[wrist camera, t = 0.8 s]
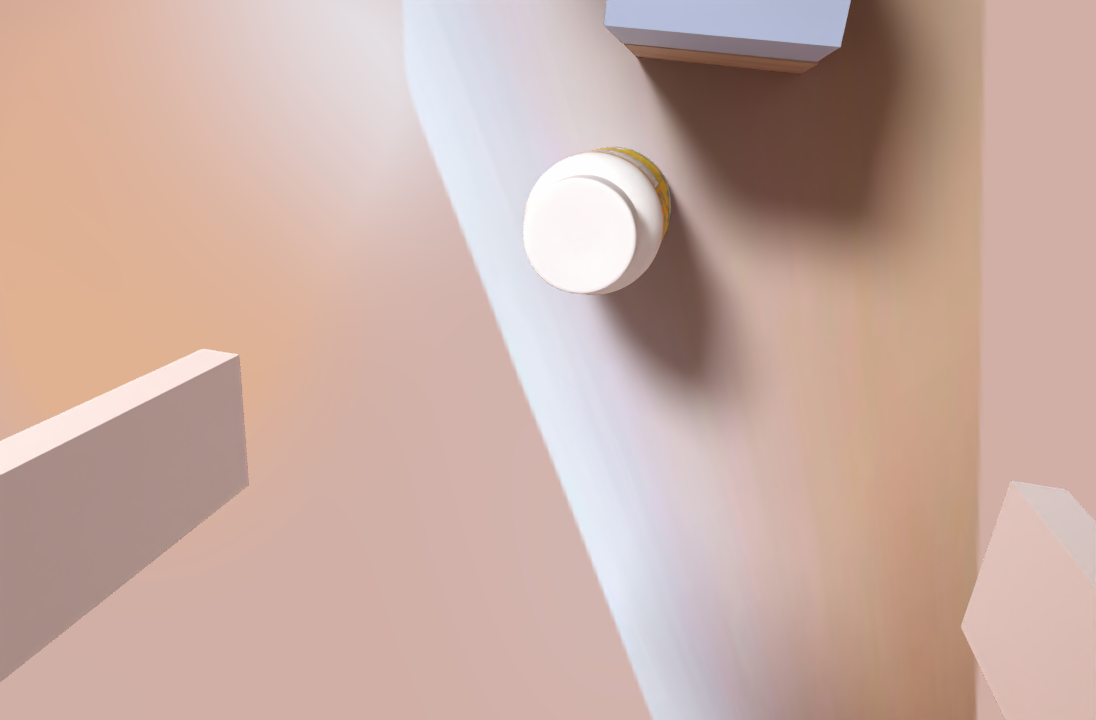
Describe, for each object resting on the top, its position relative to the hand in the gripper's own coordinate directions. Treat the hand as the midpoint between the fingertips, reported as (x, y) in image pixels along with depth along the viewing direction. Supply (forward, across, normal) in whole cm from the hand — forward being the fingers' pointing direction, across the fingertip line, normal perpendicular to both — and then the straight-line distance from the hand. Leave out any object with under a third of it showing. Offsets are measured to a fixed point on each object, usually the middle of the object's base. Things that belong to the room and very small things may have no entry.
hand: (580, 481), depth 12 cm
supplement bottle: (+23, -3, +2) cm, 23 cm away
